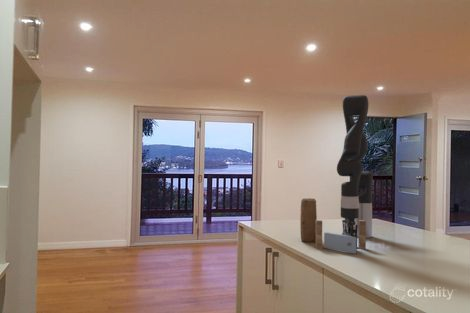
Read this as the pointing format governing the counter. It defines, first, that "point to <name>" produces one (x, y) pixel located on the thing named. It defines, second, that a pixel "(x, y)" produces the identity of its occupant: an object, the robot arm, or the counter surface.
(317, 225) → the frame
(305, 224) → the brown bread loaf
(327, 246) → the door
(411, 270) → the counter surface
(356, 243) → the gray rectangular block
